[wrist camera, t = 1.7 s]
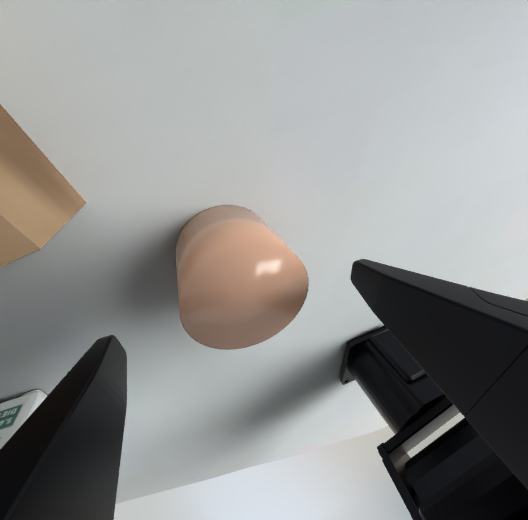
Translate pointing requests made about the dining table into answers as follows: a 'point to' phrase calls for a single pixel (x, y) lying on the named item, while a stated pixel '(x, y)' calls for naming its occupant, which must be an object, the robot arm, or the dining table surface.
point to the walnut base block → (29, 194)
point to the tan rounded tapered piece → (236, 279)
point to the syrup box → (17, 413)
